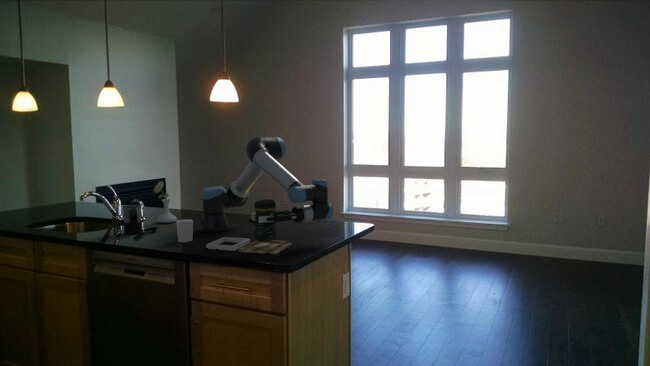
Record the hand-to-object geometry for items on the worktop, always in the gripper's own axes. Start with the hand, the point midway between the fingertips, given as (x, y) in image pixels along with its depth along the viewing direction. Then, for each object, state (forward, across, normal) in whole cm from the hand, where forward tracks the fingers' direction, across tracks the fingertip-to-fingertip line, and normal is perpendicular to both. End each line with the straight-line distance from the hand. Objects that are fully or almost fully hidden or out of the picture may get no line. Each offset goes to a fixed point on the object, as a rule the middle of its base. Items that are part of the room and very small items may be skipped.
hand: (255, 218), depth 212 cm
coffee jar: (-5, 0, -11) cm, 12 cm away
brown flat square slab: (-5, 0, -14) cm, 15 cm away
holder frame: (+9, +14, -14) cm, 21 cm away
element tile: (-31, +70, -15) cm, 78 cm away
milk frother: (+41, +67, -14) cm, 80 cm away
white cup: (+24, +35, -14) cm, 45 cm away
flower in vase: (+24, +93, -14) cm, 97 cm away
